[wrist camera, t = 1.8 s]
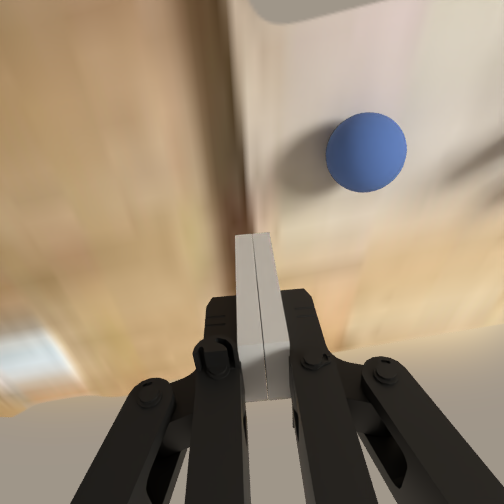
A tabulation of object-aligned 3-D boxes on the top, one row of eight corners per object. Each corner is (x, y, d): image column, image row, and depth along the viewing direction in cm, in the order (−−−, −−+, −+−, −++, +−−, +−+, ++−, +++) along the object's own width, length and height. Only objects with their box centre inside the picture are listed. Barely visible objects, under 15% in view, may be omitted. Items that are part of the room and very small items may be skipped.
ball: (304, 147, 30) (318, 171, 25) (358, 88, 28) (386, 102, 23) (349, 189, 33) (371, 219, 28) (403, 138, 30) (437, 160, 25)
